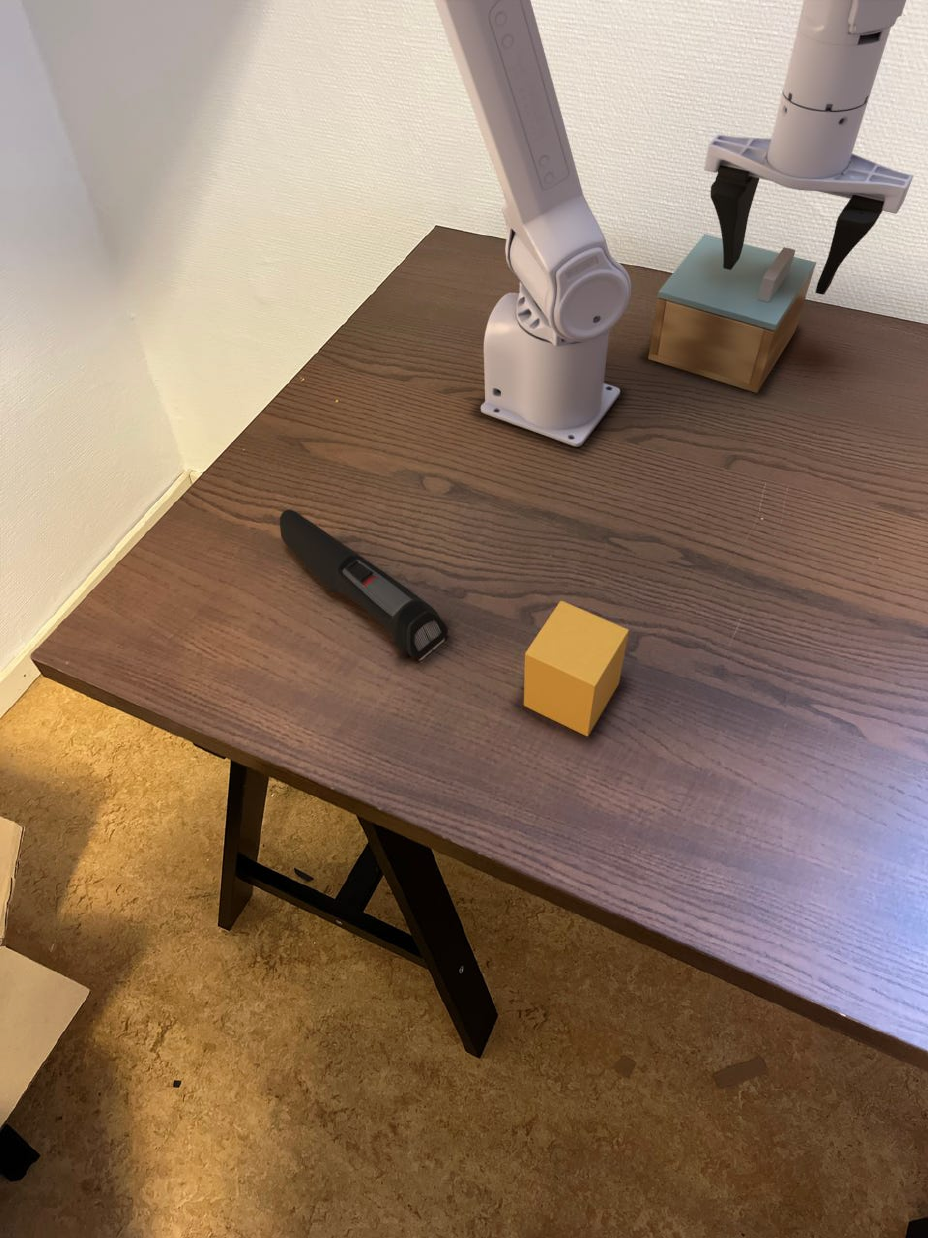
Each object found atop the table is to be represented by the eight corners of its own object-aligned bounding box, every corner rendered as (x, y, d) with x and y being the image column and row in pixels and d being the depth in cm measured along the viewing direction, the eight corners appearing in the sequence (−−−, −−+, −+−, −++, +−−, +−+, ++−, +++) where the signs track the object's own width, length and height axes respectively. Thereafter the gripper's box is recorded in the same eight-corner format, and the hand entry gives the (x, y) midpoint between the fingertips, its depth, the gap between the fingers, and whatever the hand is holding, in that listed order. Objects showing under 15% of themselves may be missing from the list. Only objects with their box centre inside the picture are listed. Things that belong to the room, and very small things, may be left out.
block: (523, 705, 55) (524, 653, 51) (556, 654, 58) (560, 600, 53) (587, 737, 54) (595, 686, 49) (619, 683, 56) (629, 629, 51)
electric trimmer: (312, 523, 66) (304, 494, 64) (452, 634, 59) (449, 606, 57) (273, 551, 65) (263, 521, 62) (412, 667, 58) (407, 640, 55)
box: (647, 359, 76) (657, 298, 71) (691, 301, 81) (702, 240, 76) (757, 393, 73) (774, 332, 68) (795, 330, 78) (814, 269, 73)
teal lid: (657, 297, 71) (661, 268, 69) (703, 239, 76) (708, 211, 74) (774, 331, 68) (783, 301, 66) (814, 268, 73) (823, 239, 71)
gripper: (949, 89, 58) (880, 273, 69) (744, 53, 63) (710, 230, 74) (923, 133, 55) (855, 319, 66) (708, 91, 60) (678, 270, 71)
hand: (776, 275), depth 70 cm, fingers open, 7 cm apart
